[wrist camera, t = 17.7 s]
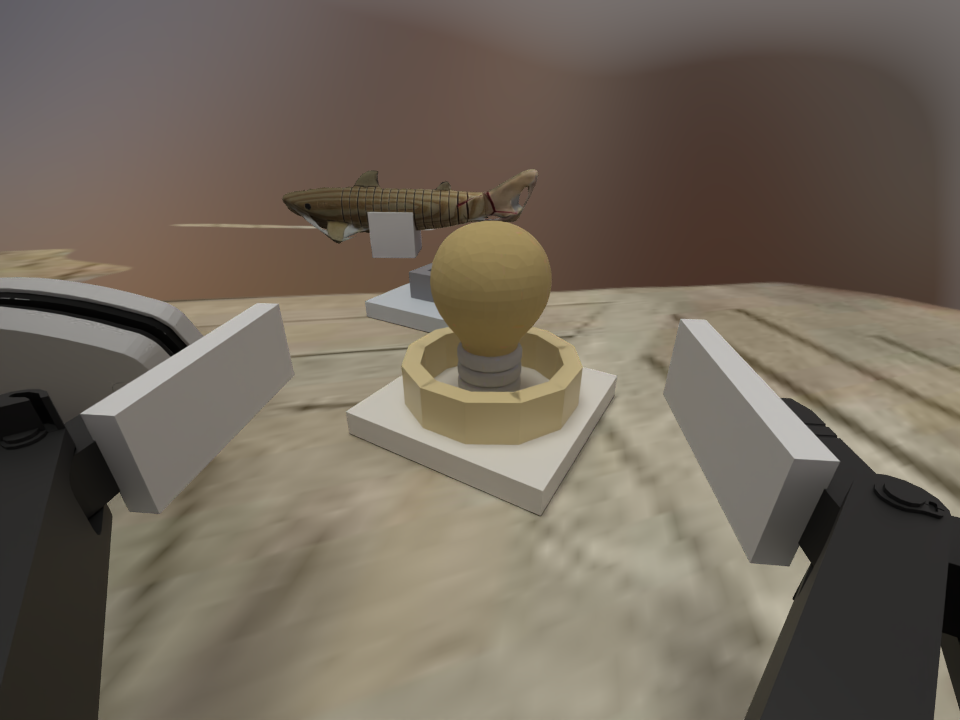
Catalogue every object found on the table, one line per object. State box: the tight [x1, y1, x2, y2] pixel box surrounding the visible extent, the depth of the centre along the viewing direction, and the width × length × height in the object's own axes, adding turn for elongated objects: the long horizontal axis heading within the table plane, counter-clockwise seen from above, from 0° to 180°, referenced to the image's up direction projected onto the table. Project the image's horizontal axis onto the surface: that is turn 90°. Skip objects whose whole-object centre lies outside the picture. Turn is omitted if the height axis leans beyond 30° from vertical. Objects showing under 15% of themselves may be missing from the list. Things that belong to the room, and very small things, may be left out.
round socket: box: [346, 327, 617, 516], centre depth 26 cm, size 12×12×4 cm
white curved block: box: [0, 277, 204, 424], centre depth 25 cm, size 17×5×10 cm, turn 85°
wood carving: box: [282, 169, 538, 258], centre depth 61 cm, size 9×35×11 cm, turn 88°
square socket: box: [365, 263, 449, 333], centre depth 42 cm, size 12×12×4 cm
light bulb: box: [430, 221, 551, 392], centre depth 24 cm, size 6×6×10 cm
